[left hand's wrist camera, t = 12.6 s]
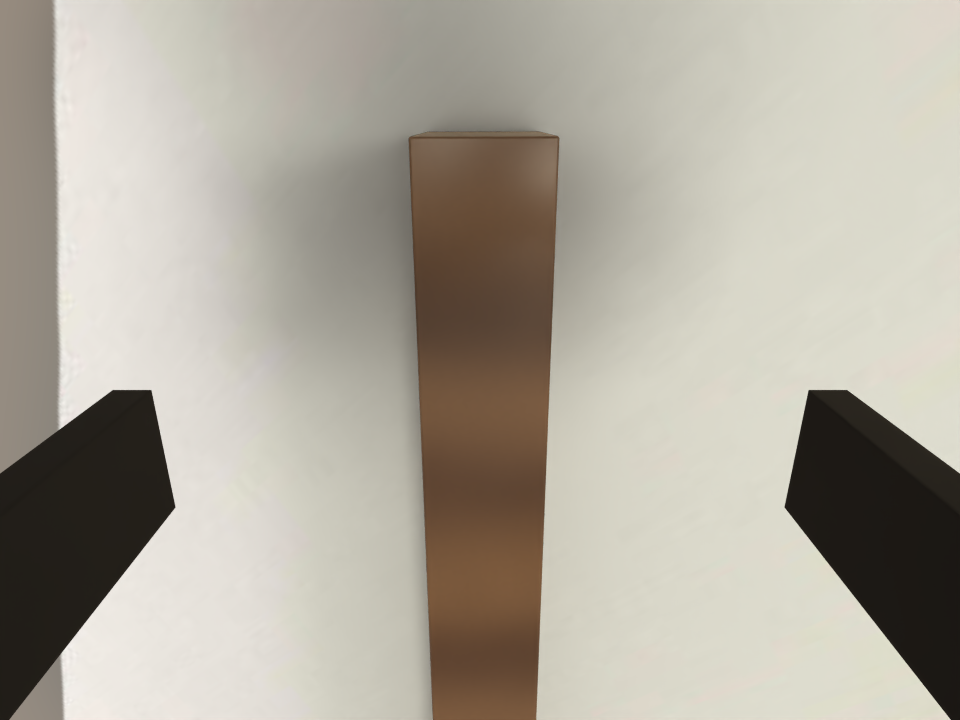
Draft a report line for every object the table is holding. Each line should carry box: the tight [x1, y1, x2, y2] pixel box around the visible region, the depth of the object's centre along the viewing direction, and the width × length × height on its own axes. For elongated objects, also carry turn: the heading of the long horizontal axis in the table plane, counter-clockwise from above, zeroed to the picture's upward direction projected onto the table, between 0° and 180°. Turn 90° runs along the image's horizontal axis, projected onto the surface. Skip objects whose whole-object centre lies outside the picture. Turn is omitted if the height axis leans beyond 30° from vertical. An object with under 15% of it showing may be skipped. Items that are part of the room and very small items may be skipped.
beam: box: [409, 131, 559, 720], centre depth 36 cm, size 50×6×8 cm, turn 0°
